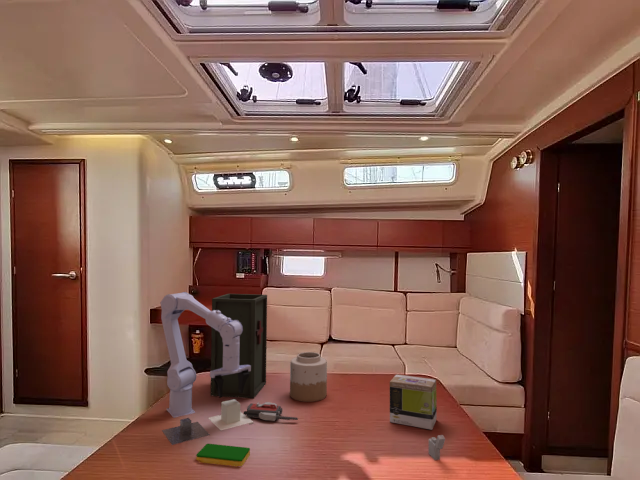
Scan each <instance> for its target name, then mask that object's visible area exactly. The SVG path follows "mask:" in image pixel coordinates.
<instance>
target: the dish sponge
mask: <svg viewBox="0 0 640 480" xmlns="http://www.w3.org/2000/svg"><path fill="white" fill-rule="evenodd" d="M195 456H196V457H195V460H196V461H198V463H203V464H214V465H219V466H220V465H221V466H228V465H229V467H237V466H242V465H243V466H244V464H245V462H247V460H248V458H249V457H250V456H251V448H250V447H245V446H235V445H226V444H215V443H206V444H205V445H204V446H203V447H202V448H201V449H200V450H199V451H198V452H197V453H196V455H195ZM230 465H231V466H230ZM243 466H242V467H243Z"/></svg>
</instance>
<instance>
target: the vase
mask: <svg viewBox="0 0 640 480" xmlns="http://www.w3.org/2000/svg"><path fill="white" fill-rule="evenodd" d="M289 363H290V364H289V369H290V370H289V375H290V376H289V396H290V397H291V398H292V399H293V400H295V401H299V402H304V403H308V402H309V403H311V402H319V401H322V400H324V399H325V398H326V397H327V388H328V384H327V383H328V378H327V377H328V368H327V367H328V361H327V359H325V357H322V356H321V354H320V353H319V352H315V351H314V352H313V351H311V352H310V351H306V352H305V351H304V352H300V353H298V354H297V355H296V356H295V357H293V358H291V360H290V362H289Z"/></svg>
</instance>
